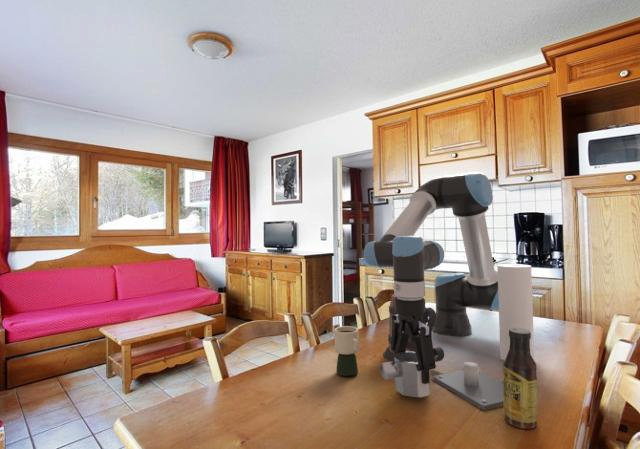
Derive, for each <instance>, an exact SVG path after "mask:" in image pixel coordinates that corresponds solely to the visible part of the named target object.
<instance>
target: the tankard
mask: <svg viewBox="0 0 640 449" xmlns="http://www.w3.org/2000/svg"><path fill="white" fill-rule="evenodd" d="M395 298H396V296H395V295H394V293H393V294H391V296H390V304H389V305H388V313H389V318H388V319H389V324H388V325H389V328H388V329H389V331H388V332H389V333H388V335H387V336H388V337H387V338H388V339H387V341H388V346H387V347H386V349H385V350H384V352H382V357H383V358H384V359H385V360H386V361H387V362H391V361H394V357H395V352H394V351H392V350H391V338H392V315H396V314H397V313H396V312H395V304H394V299H395ZM422 320H423V324H424V325H426V326H431V327H432V329H433V326H434V324H435V321H436V310H434V308H432V307H426V306H425V313H424V314H423V315H422ZM432 334H433V333H432ZM432 334H431V337H432V336H433V335H432ZM417 336H419V335H417ZM414 337H416V336H414ZM432 338H433V337H432ZM395 346H396V345H395ZM406 351H413V352H415V350H414V346H413V342H412V341H411V340H410V337H409V339H408V343H407V347H406ZM433 351H434V358H435V363H438V362H441V361H443V359H444V358H445V351H444V349H443V348H442V347H440V346H438V347H433Z"/></svg>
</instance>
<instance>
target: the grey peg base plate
mask: <svg viewBox="0 0 640 449" xmlns="http://www.w3.org/2000/svg"><path fill="white" fill-rule="evenodd" d="M432 381H434V382H436V383H437V384H439V385H440V386H442V387H444V388H446V389H447V390H449V391H450V392H452V393H454V394H456V395H457V396H460V397H461V398H463V399H464V400H466V401H467V402H469V403H471V404H472V405H474V406H475V407H478V408H480V409H481V410H483V411H487V410H491V409H495V408H498V407H499V408H500V407H504V403H503V402H504V398H503V381H500V380H499V379H496V378H494V377H492V376H490V375H488V374H486V373H484V372H481V371H480V370H479V364H478V363H476V362H472V361H465V362H463V369H461V370H455V371H450V372H446V373H442V374H436V375H432Z"/></svg>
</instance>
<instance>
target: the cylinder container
mask: <svg viewBox="0 0 640 449" xmlns="http://www.w3.org/2000/svg"><path fill="white" fill-rule="evenodd" d="M496 270H497V272H498V299H499V310H498V321H499V322H498V323H499V324H498V327H499V355H500V356H499V357H500V359H502V360H503V361H505V359H506V357H507V354H508V351H509V349H510V348H509V347H510V337H509V329H510V328H522V329H526V330H529V331H530V332H531V338H530V354H531V356H532V358H533V359H534V360H535V337H534V336H535V335H534V312H533V310H534V309H533V308H534V307H533V305H534V304H533V282H532V279H533V278H532V265H529V264H521V263H505V264H497V269H496Z"/></svg>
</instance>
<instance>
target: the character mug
mask: <svg viewBox="0 0 640 449" xmlns="http://www.w3.org/2000/svg"><path fill="white" fill-rule="evenodd" d="M333 334H334V337H333V338H334V351H335V353H337V354H338V355H337V361H336V374H337V375H339V376H345V377H348V376H349V377H350V376H353V375H357V374H358V373H359V369H358V362H357V356H356V353H357V352H358V351H359V350H360V346H359V338H360V337H359V336H360V335H359V328H358V327H356V326H349V325H343V326H337V327H336V328H334V331H333Z"/></svg>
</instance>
